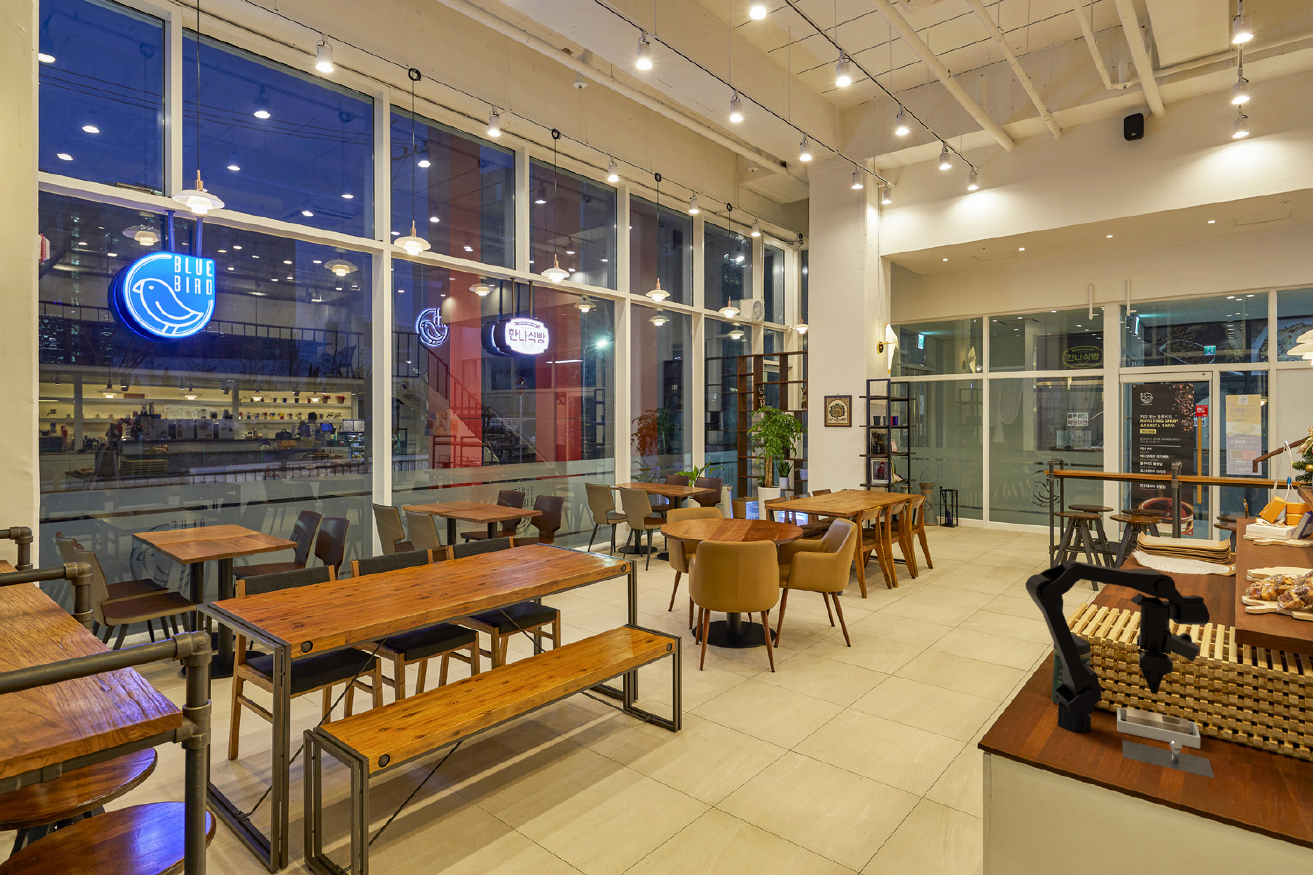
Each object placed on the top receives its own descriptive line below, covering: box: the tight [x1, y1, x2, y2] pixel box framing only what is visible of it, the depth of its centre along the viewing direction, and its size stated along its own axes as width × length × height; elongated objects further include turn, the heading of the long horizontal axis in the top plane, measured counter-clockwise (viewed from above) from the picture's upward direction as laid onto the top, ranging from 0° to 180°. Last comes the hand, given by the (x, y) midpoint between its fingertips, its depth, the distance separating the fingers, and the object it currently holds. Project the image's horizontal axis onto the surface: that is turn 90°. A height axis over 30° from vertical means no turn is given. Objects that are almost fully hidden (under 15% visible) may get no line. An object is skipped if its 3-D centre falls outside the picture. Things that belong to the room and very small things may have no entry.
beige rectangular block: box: [1125, 707, 1191, 735], centre depth 164 cm, size 12×5×4 cm, turn 57°
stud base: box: [1121, 739, 1215, 779], centre depth 152 cm, size 16×9×5 cm, turn 57°
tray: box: [1116, 706, 1201, 750], centre depth 164 cm, size 16×9×4 cm, turn 57°
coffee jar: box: [1051, 634, 1092, 705], centre depth 182 cm, size 10×8×19 cm
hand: (1152, 686), depth 164 cm, fingers open, 9 cm apart
